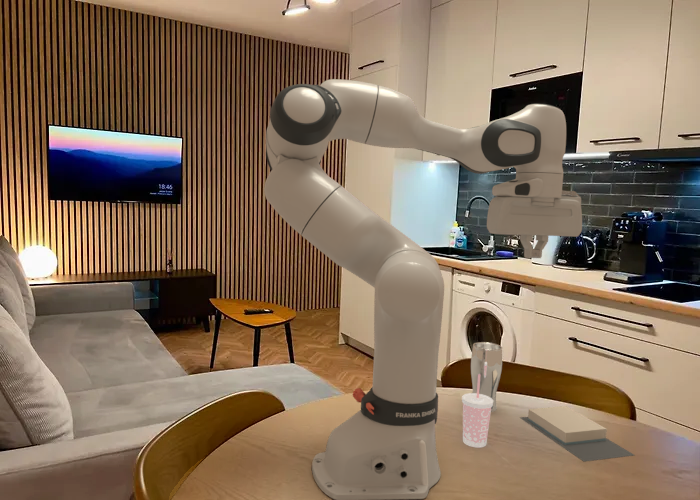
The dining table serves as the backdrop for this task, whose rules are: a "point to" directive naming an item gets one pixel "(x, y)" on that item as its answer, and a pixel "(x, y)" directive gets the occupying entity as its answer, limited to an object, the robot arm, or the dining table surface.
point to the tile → (567, 425)
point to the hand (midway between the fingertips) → (532, 257)
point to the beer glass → (486, 369)
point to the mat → (589, 448)
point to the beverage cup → (476, 417)
